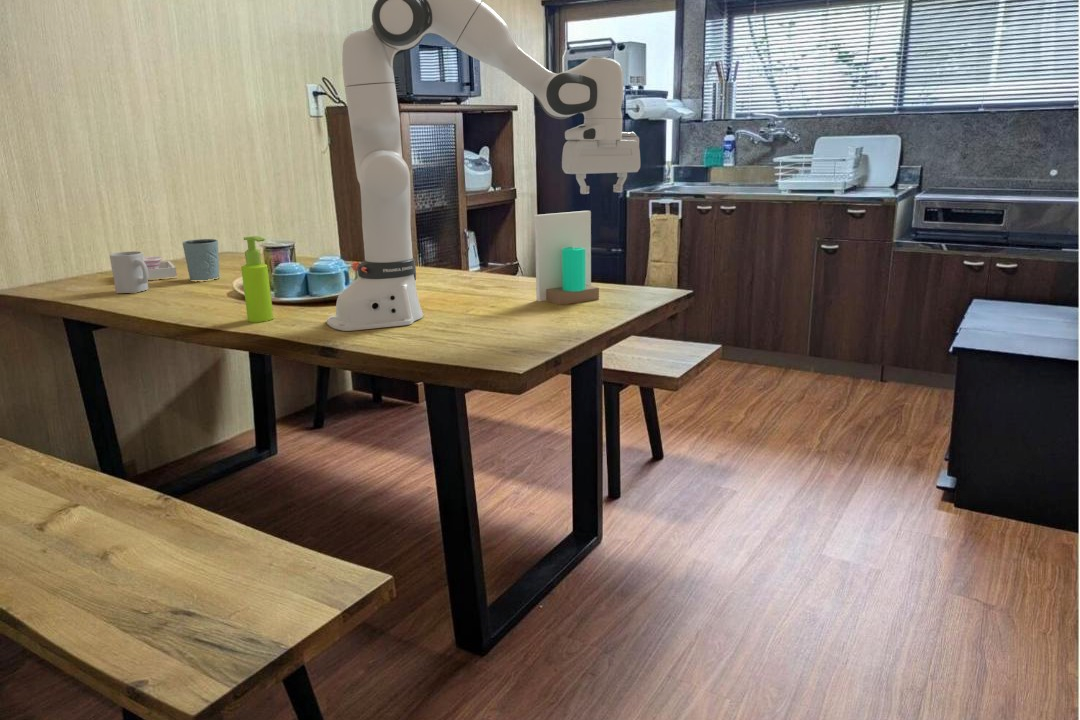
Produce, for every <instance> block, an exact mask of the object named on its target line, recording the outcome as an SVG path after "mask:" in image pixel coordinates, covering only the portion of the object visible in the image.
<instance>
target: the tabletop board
mask: <svg viewBox="0 0 1080 720" xmlns="http://www.w3.org/2000/svg"><path fill="white" fill-rule="evenodd" d="M591 211H592V210H580V211H569V212H567V211H566V212H557V213H556V212H555V213H553V212H552V213H545V214H543V213H542V214H534V241H535V242H534V243H535V246H534V247H535V249H534V250H535V284H536V285H535V287H536V289H535V290H536V291H535V292H536V294H535V295H536V301H537V302H549V303H553V304H556V305H558V306H562V305H568V304H569V305H570V304H576V303H582V302H588V301H589V302H590V301H595V300H600V288H599V287H597V286H595V285H592V233H591V232H592V230H591V229H592V228H591V227H592V226H591V225H592V218H591V217H592V212H591ZM573 243H574V248H581V247H582V248H583V249H585V290H583V291H565V290H563V274H562V249H563V248H567V247H573Z"/></svg>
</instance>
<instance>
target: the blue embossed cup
mask: <svg viewBox="0 0 1080 720" xmlns="http://www.w3.org/2000/svg"><path fill="white" fill-rule="evenodd" d="M182 247H183V252H184V258H185V261H186V267H187V271H188V276H189V281H190V280H208V279H213V278H217V277H219V276H221V275H220V263H219V262H220V259H219V258H220V256H219V242H218V240H217V239H213V238H212V239H210V238H203V239H189V240H184V241H182Z"/></svg>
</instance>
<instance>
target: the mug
mask: <svg viewBox="0 0 1080 720" xmlns="http://www.w3.org/2000/svg"><path fill="white" fill-rule="evenodd" d="M143 257H144V255H143V252H142V251H122V252H121V251H120V252H115V253H111V254H109V259H110V265H111V271H112V275H113V282H114V289H115V292H116V294H118V293H134V294H136V293H135V292H140V291H144V290H147V289H148V290H149V284H148V282H149V281H148V269H147V266H146V264H145V262H144V259H143ZM148 290H147V291H148Z"/></svg>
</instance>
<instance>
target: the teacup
mask: <svg viewBox="0 0 1080 720" xmlns="http://www.w3.org/2000/svg"><path fill="white" fill-rule="evenodd" d="M143 259H144V262H145V264H146V266H147V269H148V270H149V269H159V264H160V263H159V262H162V256H160V255H159V256H157V255H156V256H154V255H153V256H143Z"/></svg>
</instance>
